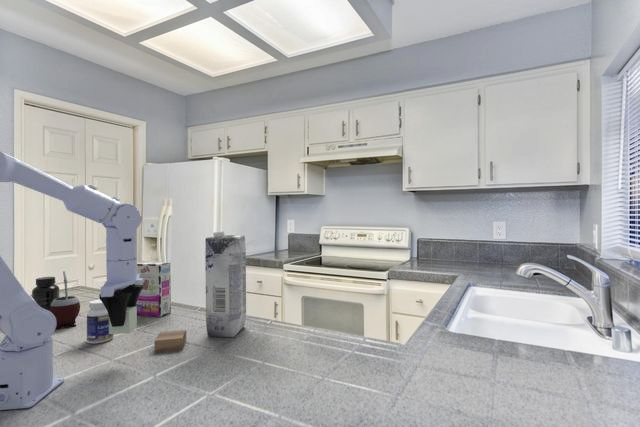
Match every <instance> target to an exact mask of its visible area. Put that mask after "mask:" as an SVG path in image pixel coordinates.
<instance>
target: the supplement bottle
mask: <svg viewBox="0 0 640 427" xmlns="http://www.w3.org/2000/svg"><path fill="white" fill-rule="evenodd" d="M56 282H57V281H56V277H55V276H43V277H42V276H41V277H37V278H35V286H36V287H34V288H33V289H32V290H31V297H32V298H33V299H34V300H35V301H36V303H37V304H38V305H39V306H40V307H41V308H43V309H46V310H48V311H50V306H51V303H52V301H53V300H54V299H56V298H60V297H61V296H60V287H59V286H58V284H56Z"/></svg>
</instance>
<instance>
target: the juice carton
mask: <svg viewBox="0 0 640 427" xmlns="http://www.w3.org/2000/svg"><path fill="white" fill-rule="evenodd" d="M212 234H213V236H212V237H210V236H209V237H208V236H207V237H205V238H204V239H205V248H204V249H205V250H204V251H205V253H204V254H205V255H204V256H205V257H204V258H205V260H204V261H205V262H204V263H205V267H204V268H205V325H206V333H207V334H206V335H207V336H208V337H212V338H213V337H215V338H219V337H220V338H224V337H225V338H233V337H235V336H236V335H237V334H238V333H239V332H240V331H241V330H242V329H244V327H245V325H246V320H247V319H246V318H247V260H246V259H247V258H246V257H247V255H246V253H247V252H246V236H245V235H241V234H240V235H239V234H237V235H235V234H230V235H229V234H228V235H227V234H226V235H225V231H224V230H223V231H215V232H212Z"/></svg>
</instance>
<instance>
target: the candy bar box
mask: <svg viewBox="0 0 640 427" xmlns="http://www.w3.org/2000/svg"><path fill="white" fill-rule="evenodd" d="M137 274H140V278H143V282H141V283H136V284H135V285H143V289H142V291H141V292H140V294H139V297H138V299H137V303H136V307H137V316H141V317H142V316H144V317H154V318H155V317H156V318H162V317H165V316H167V315H169V314H172V309H171V308H172V307H171V306H172V305H171V304H172V303H171V299H172V298H171V297H172V296H171V295H172V294H171V292H172V291H171V262H162V261H161V262H160V261H159V262H157V261H156V262H155V261H154V262H153V261H151V262H150V261H140V262H139V261H138V262H137Z"/></svg>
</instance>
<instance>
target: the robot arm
mask: <svg viewBox="0 0 640 427" xmlns="http://www.w3.org/2000/svg"><path fill="white" fill-rule="evenodd" d="M0 183H15V184H17V185H20V186H23V187H25V188H28V189H30V190H33V191H36V192H37V193H38V192H39V193H41V194H44V195H46V196H48V197H51V198H54V199H57V200H59V201H62V202H63V205H64V207H65V209H66V210H67V211H68V212H71V213H73V214H76V215H78V216H80V217H84V218H85V219H88V220H91V221H94V222H95V223H99V224H101V225H102V226H103V227H104V228H105V229H106V239H105V240H106V241H105V244H106V245H105V247H106V250H105V251H106V253H105V254H106V257H105V258H106V259H105V260H106V268H105V269H106V281H105V282H104V284H103V285H102V286H101V287H100V293H99V294H98V298H99V299H100V300H101V301H102V303H103V304H104V306H105V308H106V310H107V312H108V315H109V318H110V322H111V325H112V327H119V326H123V325H124V323H125V318H126V309H127V307H136V303H137V299H138V297H139V294H140V292H141V291H142V289H143V285H135V284H136V283H141V282H143V278H140V274H137V263H138V234H137V233H138V228H139V227H140V226H141V223H142V222H143V216H141V213H140V211H139V209H138V208H137V207H136V206H135V205H133V204H130V203H121V202H120V198H118V197H116V196H114V197H111V196H109V195H107V194H105V193H103V192H100V191H98V187H97V186H95V185H93V184H89V185H85V184H79V185H75V186H72V185H70V184H68V183H66V182H64V181H63V180H60V179H58V178H56V177H54V176H52V175H50V174H48V173H47V172H44V171H42V170H40V169H38V168H36V167H34V166H31V165H30V164H28V163H26V162H24V161H22V160H19V159H17V158H16V157H14V156H11V155H9V154H7V153H5V152H3V151H0ZM56 323H57V322H56V318H55V316H54V315H53V314H52V313H51V312H50V311H48V310H46V309H43V308H41V307H40V306H39V305H38V304H37V303H36V301H35V300H34V299H33V298H32V295H31V294H30V293H28V291H27V290H26V289H25V288H24V287H23V286H22V284H21V283H20V281H19V280H18V278H17V276H16V275H15V274H14V273H13V271H12V270H11V269H10V267H9V266H8V264H7V263H6V261H5V260H4V259H3V257H2V256H1V255H0V332H1V333H2V334H4V335H5V336H4V337H3V339H2V340H1V342H0V411H7V410H18V409H28V408H29V409H30V408H31V407H33V406H34V405H36V404H37V403H38V402H39V401H41V400H42V399H43V398H45V397H46V396H47V395H48V394H49V393H50V392H53V390H55V389H56V388H57V387H58V386H60V385H61V384H62V383H64V382H65V378H64V377H60V378H59V377H58V378H56V377H55V378H54V346H53V345H54V340H53V338H54V336H53V335H54V332H55V331H56V330H55V329H56Z"/></svg>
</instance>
